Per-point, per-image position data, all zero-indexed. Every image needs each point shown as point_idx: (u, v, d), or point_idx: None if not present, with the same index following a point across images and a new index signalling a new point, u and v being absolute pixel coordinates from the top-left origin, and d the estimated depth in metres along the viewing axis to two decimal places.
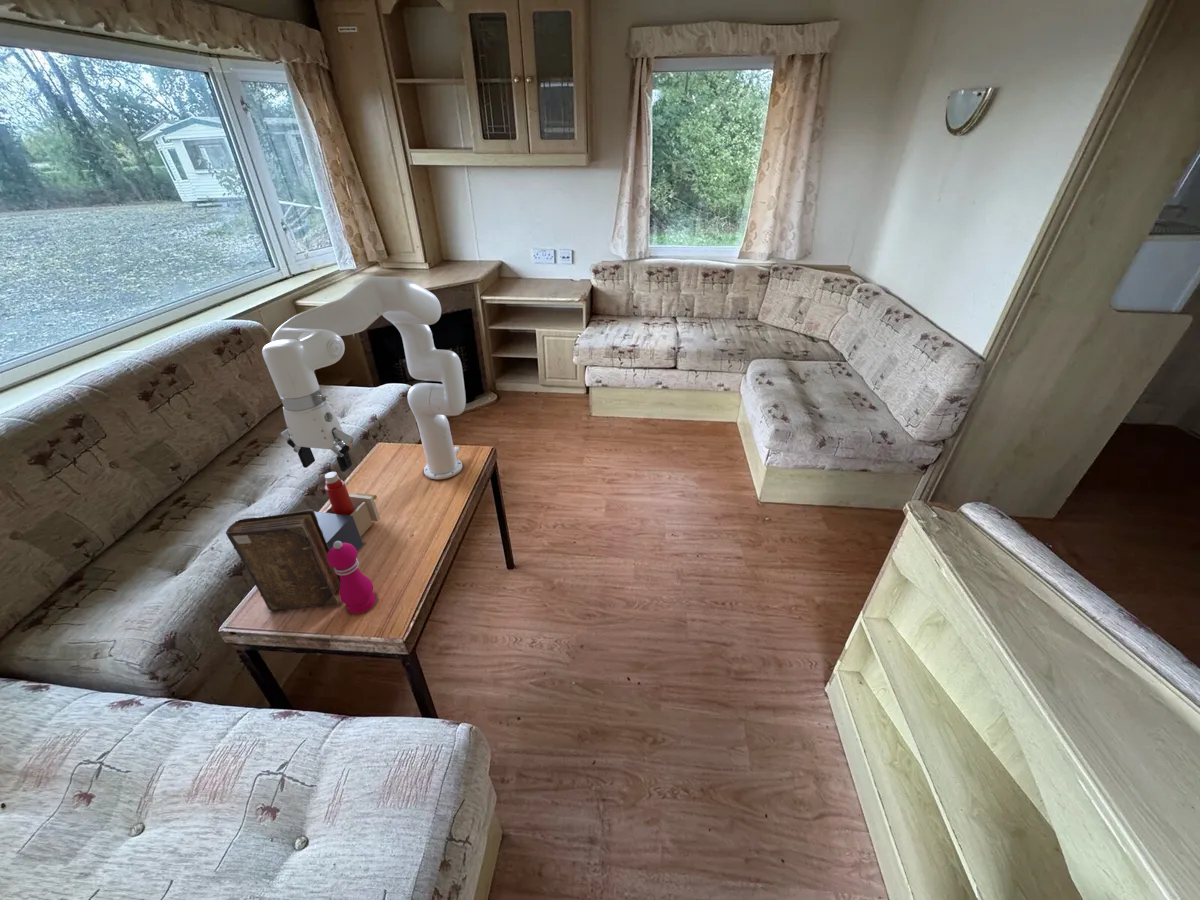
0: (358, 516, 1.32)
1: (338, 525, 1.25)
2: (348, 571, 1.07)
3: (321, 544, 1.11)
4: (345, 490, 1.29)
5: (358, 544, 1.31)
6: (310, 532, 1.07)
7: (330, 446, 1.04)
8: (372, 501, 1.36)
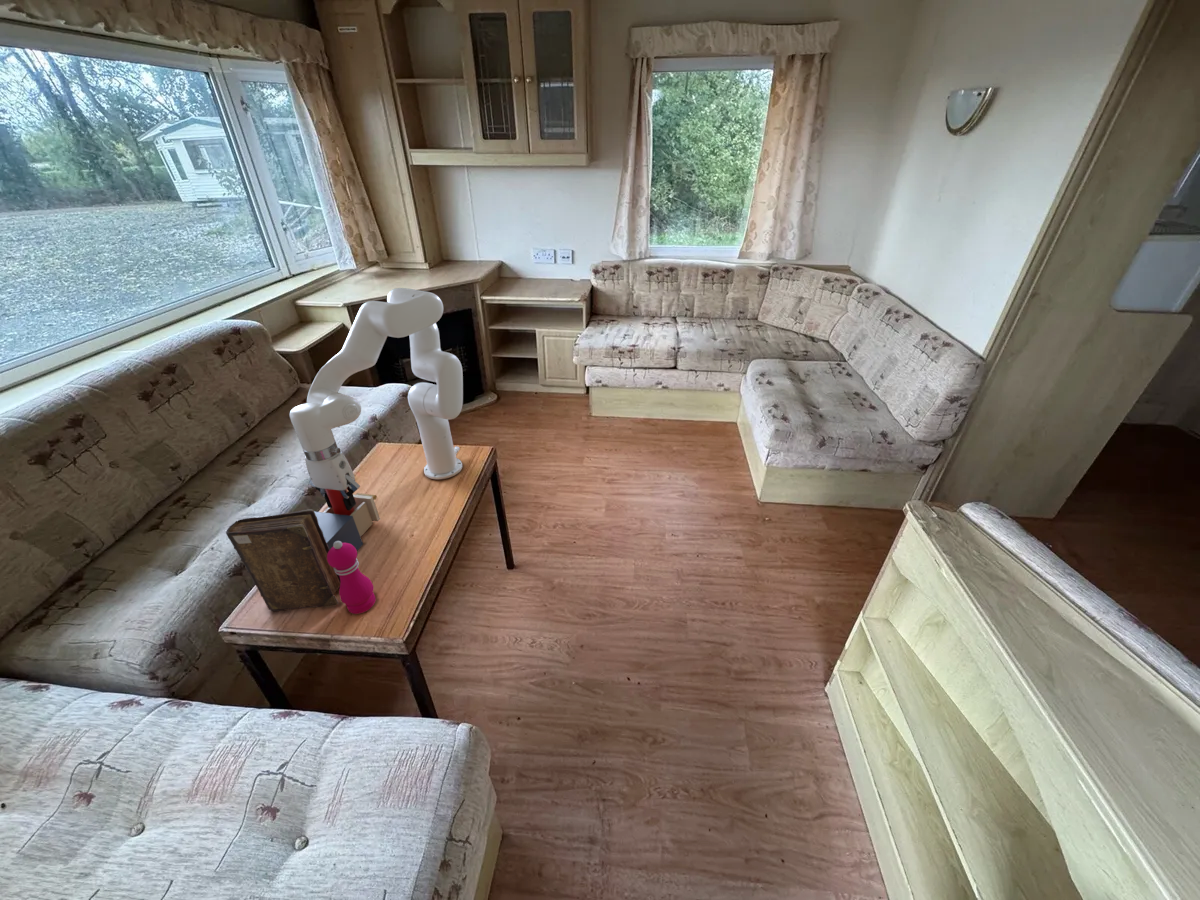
0: (358, 516, 1.32)
1: (338, 525, 1.25)
2: (348, 571, 1.07)
3: (321, 544, 1.11)
4: (345, 490, 1.29)
5: (358, 544, 1.31)
6: (310, 532, 1.07)
7: (343, 488, 1.25)
8: (372, 501, 1.36)
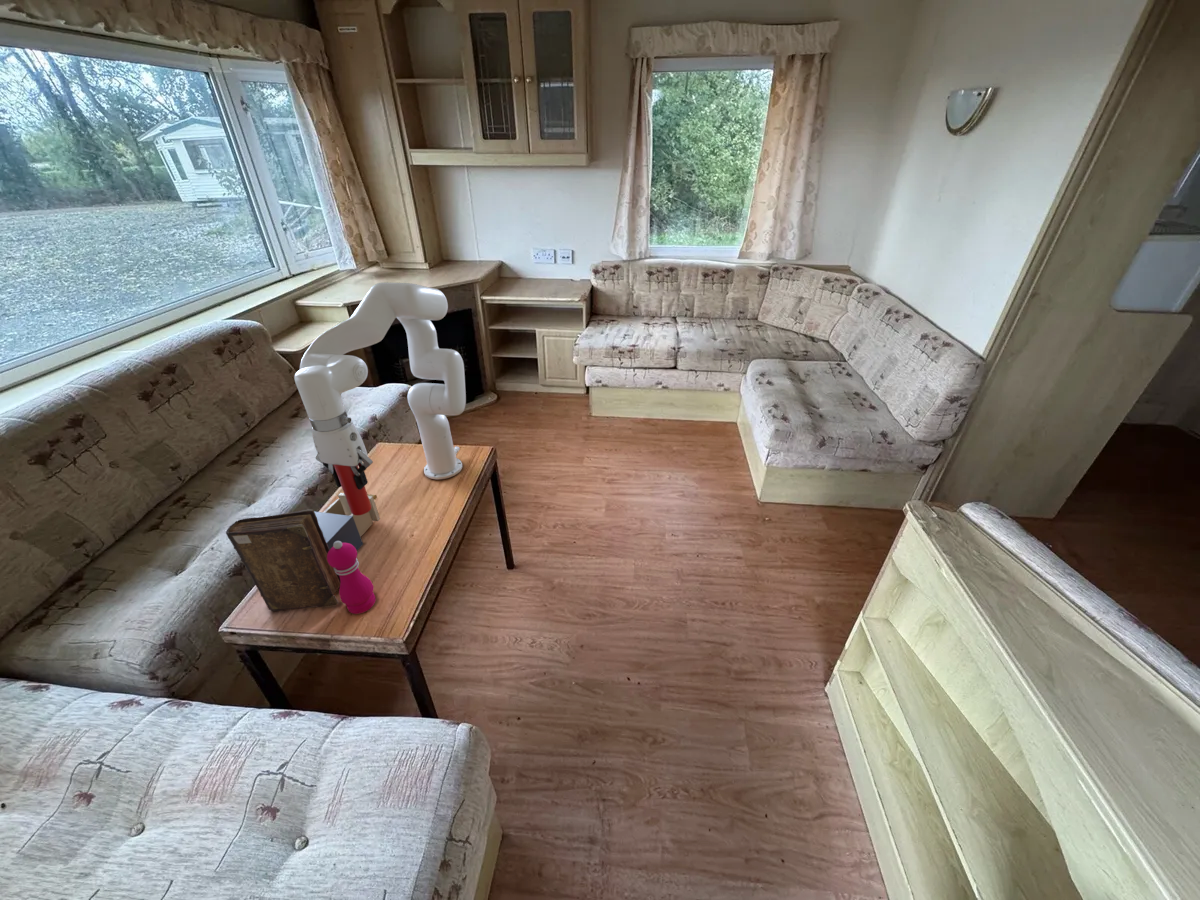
0: (358, 516, 1.32)
1: (338, 525, 1.25)
2: (348, 571, 1.07)
3: (321, 544, 1.11)
4: None
5: (358, 544, 1.31)
6: (310, 532, 1.08)
7: (354, 463, 1.12)
8: (372, 501, 1.37)
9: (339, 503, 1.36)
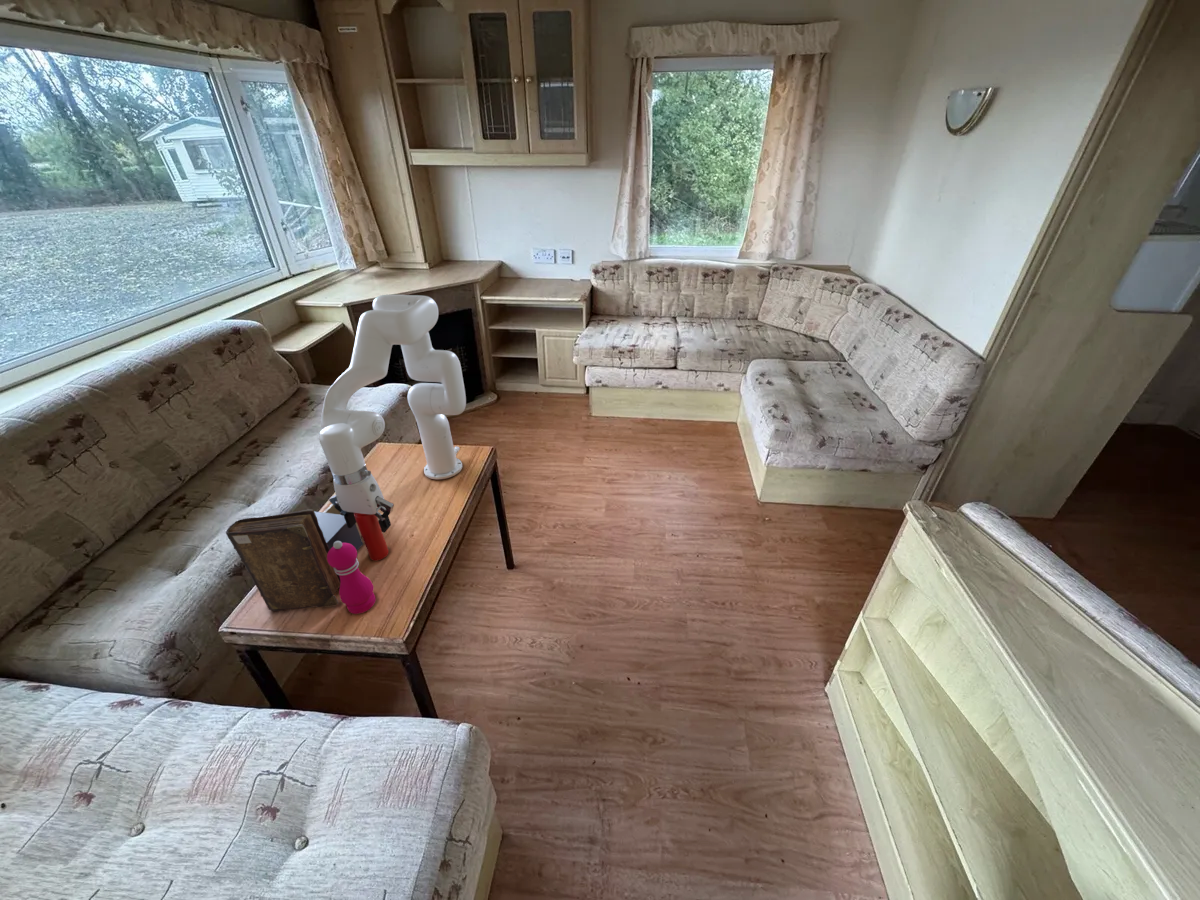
0: None
1: (338, 525, 1.25)
2: (348, 571, 1.07)
3: (321, 544, 1.11)
4: (375, 516, 1.23)
5: (358, 544, 1.31)
6: (310, 532, 1.08)
7: (373, 512, 1.19)
8: None
9: None
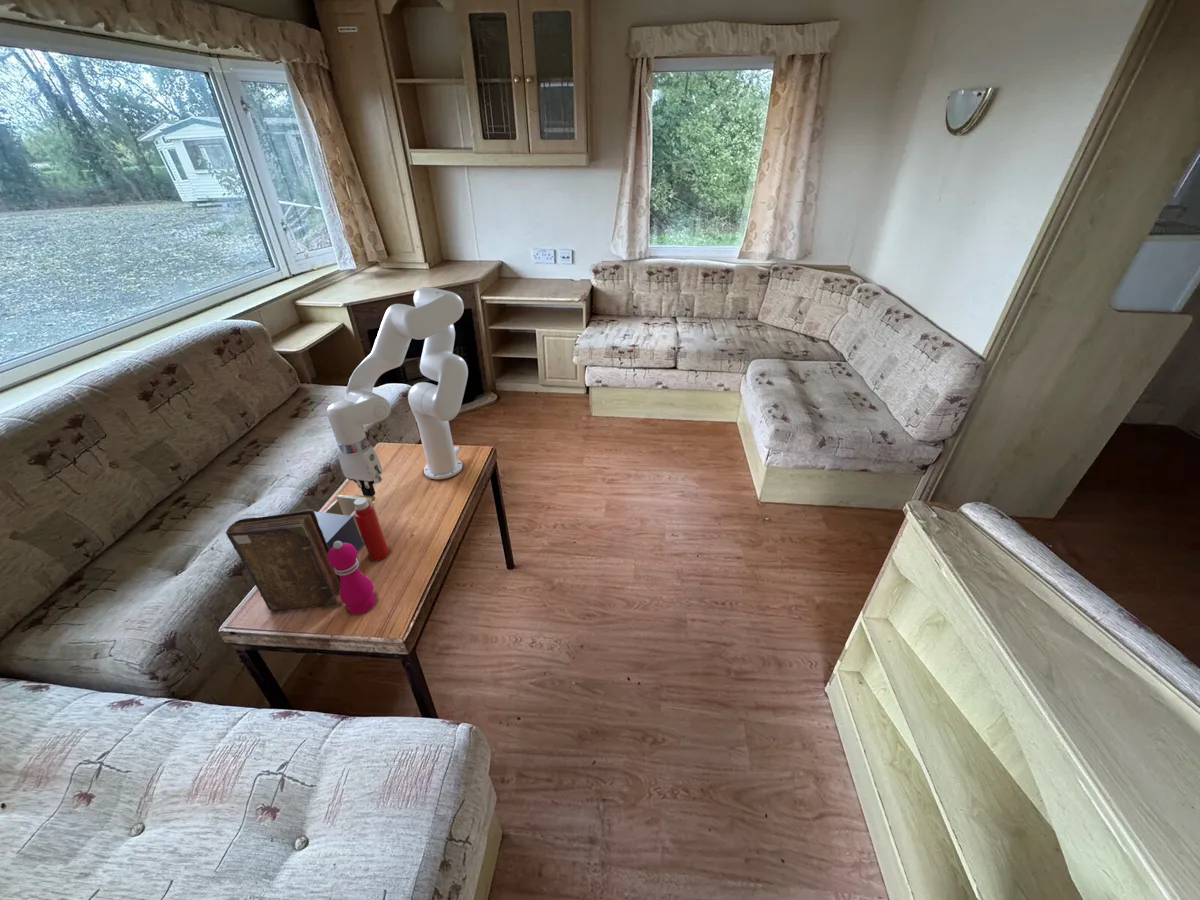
0: None
1: (338, 525, 1.25)
2: (348, 571, 1.07)
3: (321, 544, 1.11)
4: (375, 516, 1.23)
5: (358, 544, 1.31)
6: (310, 532, 1.07)
7: (372, 479, 1.37)
8: (371, 502, 1.36)
9: (337, 505, 1.35)
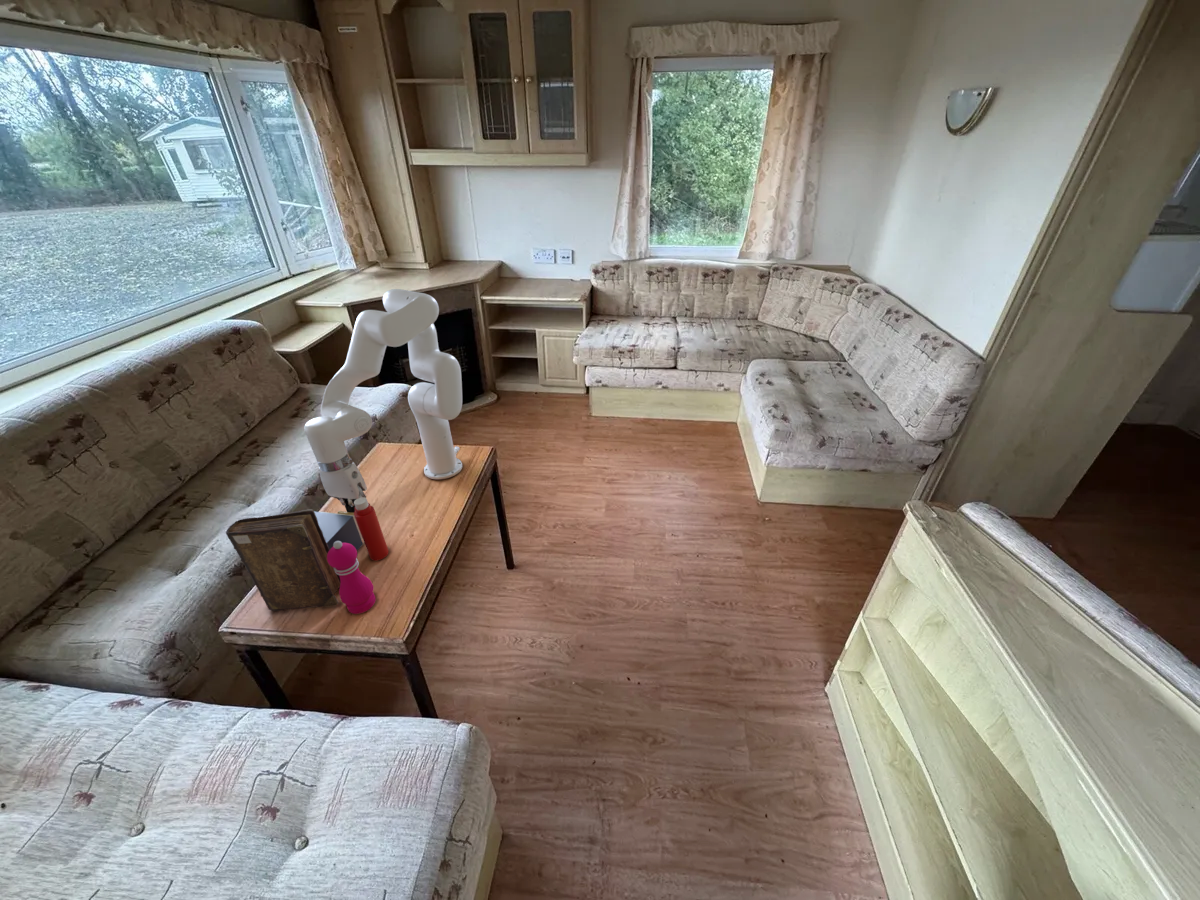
0: None
1: (338, 525, 1.25)
2: (348, 571, 1.07)
3: (321, 544, 1.11)
4: (375, 516, 1.23)
5: (358, 544, 1.31)
6: (310, 532, 1.07)
7: (356, 497, 1.31)
8: (354, 520, 1.29)
9: None
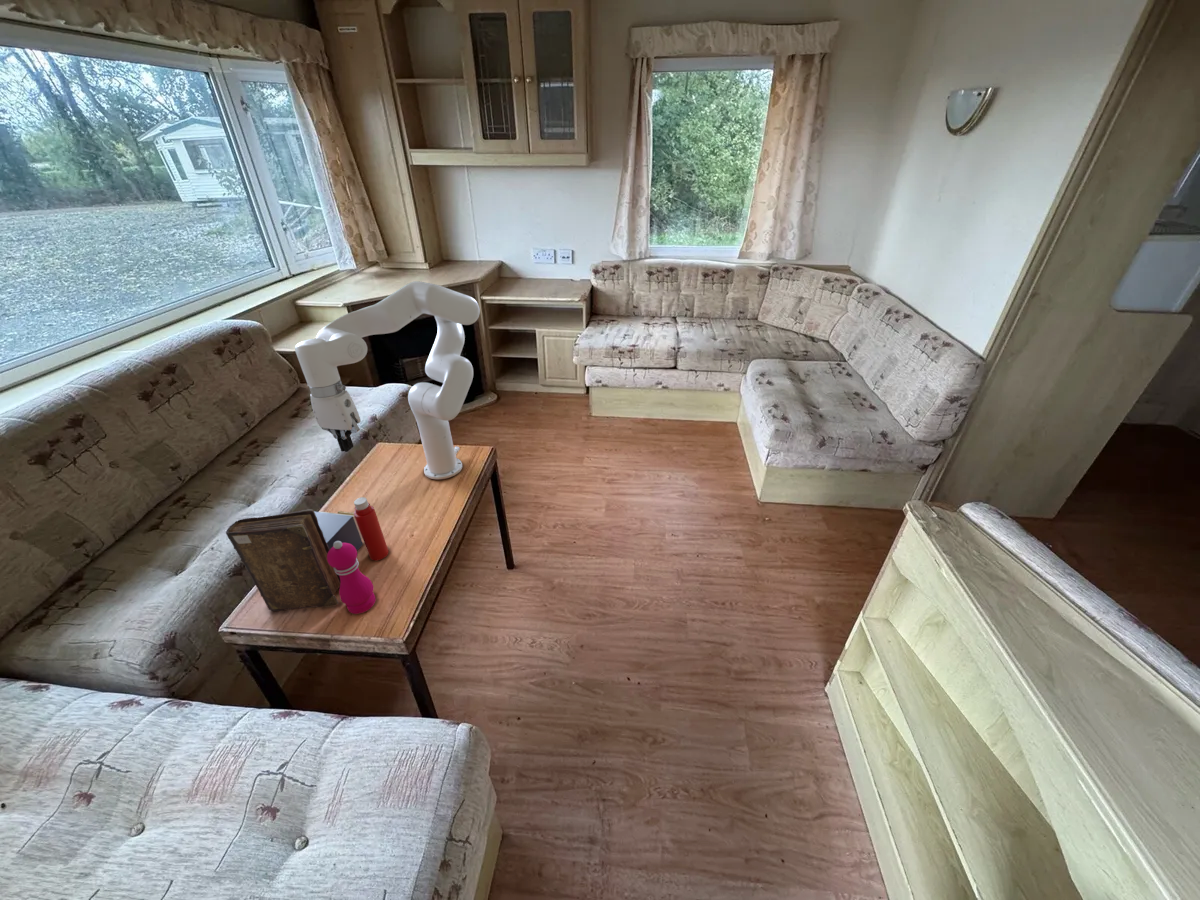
0: None
1: (338, 525, 1.25)
2: (348, 571, 1.07)
3: (321, 544, 1.11)
4: (375, 516, 1.23)
5: (358, 544, 1.31)
6: (310, 532, 1.08)
7: (349, 427, 1.25)
8: (354, 520, 1.29)
9: None
